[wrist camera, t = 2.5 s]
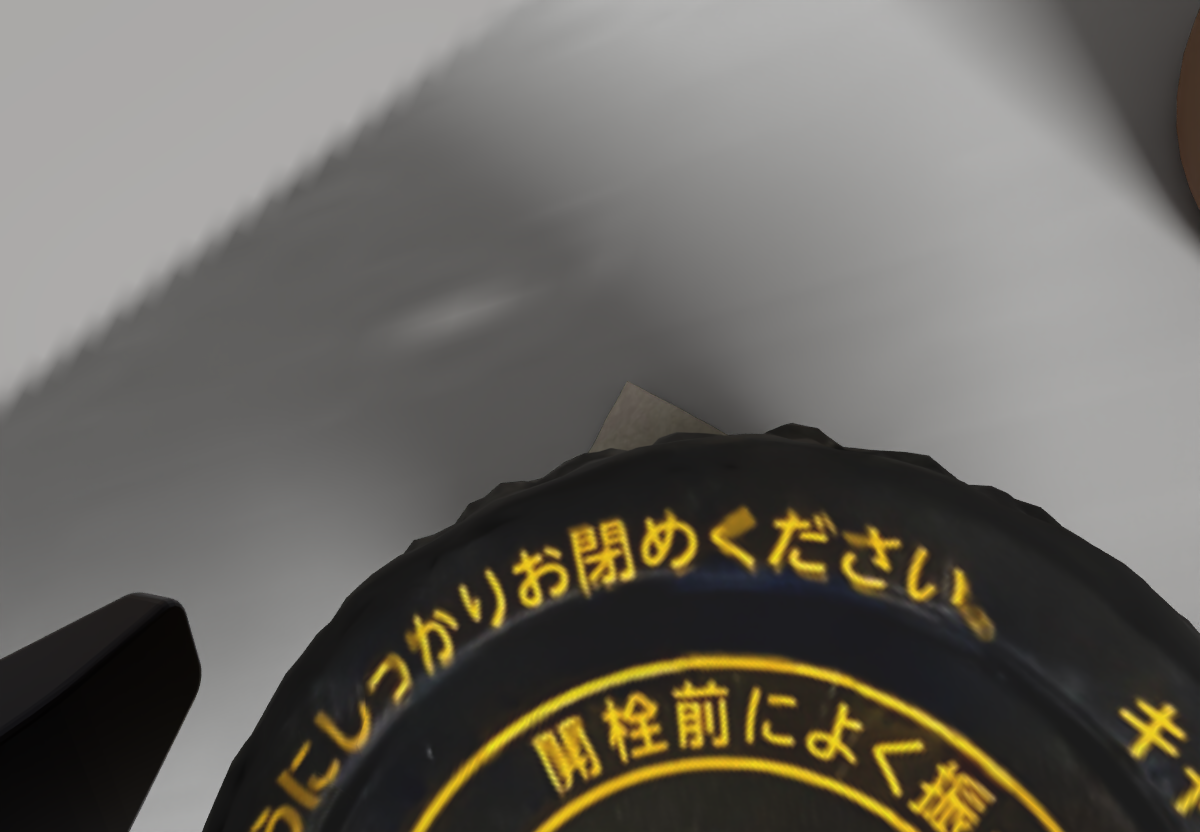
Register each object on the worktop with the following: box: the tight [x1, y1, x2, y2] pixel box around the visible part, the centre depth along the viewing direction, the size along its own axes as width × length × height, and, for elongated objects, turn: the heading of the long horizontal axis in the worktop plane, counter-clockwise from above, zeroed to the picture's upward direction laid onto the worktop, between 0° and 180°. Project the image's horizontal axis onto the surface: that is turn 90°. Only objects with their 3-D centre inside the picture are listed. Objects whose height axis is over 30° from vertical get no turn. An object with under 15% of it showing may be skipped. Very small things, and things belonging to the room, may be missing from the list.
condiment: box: [202, 381, 1200, 832], centre depth 10 cm, size 7×8×12 cm
